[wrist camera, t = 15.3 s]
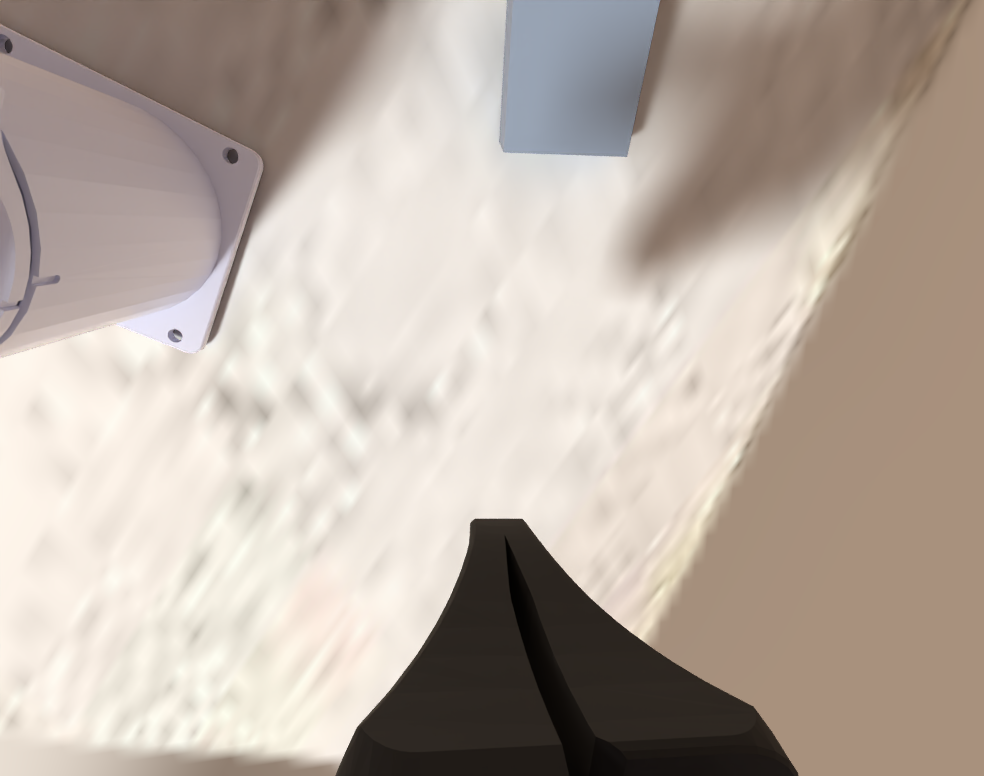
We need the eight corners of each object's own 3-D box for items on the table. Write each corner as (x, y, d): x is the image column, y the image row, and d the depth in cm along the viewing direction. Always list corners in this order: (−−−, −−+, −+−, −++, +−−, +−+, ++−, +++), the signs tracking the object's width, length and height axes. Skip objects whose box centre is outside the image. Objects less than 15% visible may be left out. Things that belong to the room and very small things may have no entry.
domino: (626, 156, 17) (688, -133, 12) (503, 152, 16) (522, -150, 12) (614, 146, 18) (665, -121, 14) (499, 141, 18) (514, -135, 13)
